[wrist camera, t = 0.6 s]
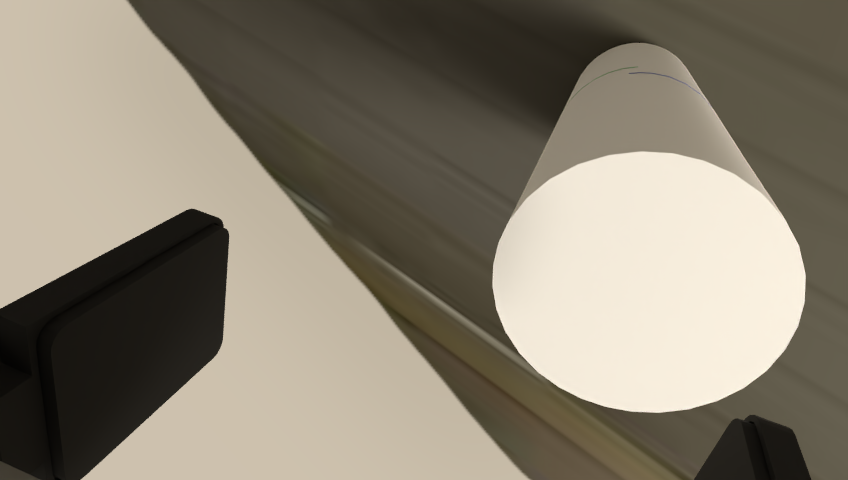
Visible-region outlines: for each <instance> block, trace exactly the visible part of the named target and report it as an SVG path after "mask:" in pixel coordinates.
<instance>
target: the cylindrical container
mask: <svg viewBox="0 0 848 480" xmlns="http://www.w3.org/2000/svg"><path fill="white" fill-rule="evenodd" d="M805 276H806V275H805V270H804V266H803V262H802V257H801V253H800V248H799V245H798V243H797V241H796V240H795V238H794V236H793V234H792V232H791V230H790V228H789V226H788V224H787V222H786V221H785V219H784V217H783V216H782V214H781V212H780V211H779V209H778V208H777V206H776V205H775V203H774V202H773V200H772V199H771V197H770V196H769V194H768V193H767V191H766V190H765V188H764V187H763V185H762V184H761V182H760V181H759V179H758V178H757V176H756V175H755V173H754V172H753V170H752V169H751V167H750V166H749V164H748V163H747V161H746V160H745V158H744V157H743V155H742V153H741V152H740V150H739V149H738V147H737V146H736V144H735V142H734V141H733V139H732V138H731V136H730V135H729V133H728V131H727V130H726V128H725V127H724V125H723V124H722V122H721V121H720V119H719V117H718V116H717V114H716V113H715V111H714V110H713V108H712V107H711V105H710V104H709V102H708V101H707V99H706V98H705V96H704V95H703V93H702V92H701V90H700V89H699V87H698V86H697V84H696V82H695V81H694V79H693V78H692V76H691V74H690V73H689V71H688V70H687V68H686V67H685V65H684V64H683V63H682V62H681V61H680V60H679V59H678V57H676V56H675V55H674V54H672V53H671V52H669V51H668V50H666V49H664V48H661V47H659V46H657V45H652V44H647V43H629V44H624V45H620V46H617V47H614V48H612V49H609V50H607V51H606V52H604V53H602V54H601V55H599V56H597V57H596V58H595V59H594V60H593V61H592V62H591V63H590V64H589V65H588V66H587V67H586V69H585V70H584V71H583V73H582V74H581V75H580V77H579V79H578V81H577V83H576V85H575V87H574V89H573V91H572V94H571V96H570V98H569V100H568V102H567V104H566V106H565V108H564V110H563V112H562V114H561V116H560V118H559V120H558V122H557V124H556V126H555V128H554V130H553V132H552V134H551V136H550V138H549V140H548V142H547V144H546V146H545V149H544V151H543V153H542V155H541V157H540V159H539V161H538V163H537V165H536V167H535V169H534V171H533V173H532V175H531V177H530V179H529V181H528V183H527V185H526V187H525V189H524V191H523V193H522V196H521V198H520V200H519V202H518V204H517V206H516V208H515V210H514V212H513V214H512V216H511V218H510V220H509V222H508V224H507V226H506V228H505V230H504V232H503V235H502V237H501V239H500V241H499V243H498V247H497V251H496V256H495V260H494V264H493V292H494V297H495V303H496V309H497V312H498V314H499V317H500V319H501V322H502V324H503V327H504V329H505V332H506V333H507V335H508V336H509V338H510V339H511V341H512V342H513V344H514V345H515V347H516V349H517V350H518V352H519V353H520V354H521V355H522V356H523V357H524V358H525V359H526V360H527V361H528V362H529V363H530V364H531V365H532V366H533V368H534V369H535V370H536V371H537V372H539V373H540V374H541V375H543V376H544V377H546V378H547V379H548V380H550V381H551V382H552V383H554V384H555V385H557V386H558V387H560V388H562V389H564V390H566V391H568V392H570V393H571V394H573V395H575V396H577V397H579V398H581V399H584V400H587V401H590V402H593V403H596V404H599V405H602V406H605V407H610V408H615V409H621V410H626V411H632V412H658V413H660V412H668V411H677V410H686V409H691V408H694V407H698V406H701V405H705V404H708V403H712V402H715V401H718V400H720V399H722V398H724V397H726V396H728V395H730V394H732V393H734V392H736V391H739V390H741V389H743V388H744V387H746V386H747V385H748V384H750V383H751V382H752V381H754V380H755V379H756V378H758V377H759V376H760V375H762V374H763V373H764V372H766V371H767V370H768V369H769V368H770V366H771V365H772V364H773V363H774V362H775V361H776V360H777V358H778V357H779V356H780V355H781V354H782V353H783V351H784V350H785V349H786V347H787V345H788V343H789V342H790V340H791V338H792V336H793V334H794V333H795V331H796V329H797V327H798V324H799V320H800V317H801V313H802V310H803V306H804V303H805Z"/></svg>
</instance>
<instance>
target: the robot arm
mask: <svg viewBox="0 0 848 480" xmlns="http://www.w3.org/2000/svg"><path fill="white" fill-rule="evenodd" d="M228 246H229V233H228V231H227V229H225V228H223V222H222V220H221V219H219V218H217V217H215V216H212V215H209V214H206V213H204V212H201V211H198V210H195V209H189V210H186V211H184V212H182V213H180V214H179V215H177V216H175V217H173V218H171V219H169V220H167V221H165V222H163V223H162V224H160V225H158V226H156V227H154V228H152V229H150V230H148V231H146V232H144V233H143V234H141V235H139V236H137V237H135V238H133V239H131V240H130V241H127V242H126V243H124V244H122V245H120V246H118V247H116V248H114V249H113V250H110V251H109V252H107V253H105V254H103V255H101V256H99V257H97V258H95V259H93V260H92V261H90V262H88V263H86V264H84V265H82V266H80V267H79V268H77V269H75V270H73V271H71V272H69V273H67V274H65V275H63V276H61V277H59V278H58V279H56V280H54V281H52V282H50V283H48V284H46V285H44V286H43V287H41V288H39V289H37V290H35V291H33V292H31V293H29V294H27V295H25V296H24V297H22V298H20V299H18V300H16V301H14V302H12V303H10V304H8V305H7V306H5V307H3V308H1V309H0V480H80V479H82V478H83V477H84V476H85V475H87V474H88V473H89V472H90V471H91V470H92V469H93V468H94V467H95V466H96V465H97V464H98V463H99V462H101V461H102V460H103V459H104V458H105V457H106V456H107V455H108V454H109V453H110V452H112V451H113V449H115V448H116V447H117V446H118V445H119V444H120V443H121V442H122V441H124V440H125V439H126V438H127V437H128V436H129V435H130V434H131V433H132V432H133V431H134V430H135V429H136V428H138V427H139V426H140V425H141V424H142V423H143V422H144V421H145V420H146V419H147V418H149V416H151V415H152V414H153V413H154V412H155V411H156V410H157V409H158V408H159V407H161V406H162V405H163V404H164V403H165V402H166V401H167V400H168V399H169V398H170V397H171V396H172V395H174V394H175V393H176V392H177V391H178V390H179V389H180V388H181V387H182V386H183V385H185V384H186V383H187V382H188V381H189V380H190V379H191V378H192V377H193V376H194V375H195V374H196V373H198V372H199V371H200V370H201V369H202V368H203V367H204V366H205V365H206V364H207V363H208V362H210V361H211V360H212V359H213V358H214V357H215V356H216V354H217V353H218V351H219V349H220V347H221V344H222V340H223V328H224V310H225V295H226V279H227V262H228ZM694 480H811V478H810V475H809V472H808V469H807V467H806V464H805V461H804V458H803V455H802V453H801V450H800V447H799V444H798V442H797V439H796V436H795V434H794V432H793V430H792V429H790V428H788V427H786V426H783V425H780V424H777V423H775V422H772V421H769V420H767V419H764V418H761V417H758V416H756V415H750V416H748V417H747V418H745V420H744V421H743V420H741V419H734V420H733V421H732V422H731V423H730V424H729V426H728V427H727V429H726V430H725V432H724V433H723V435H722V437H721V438H720V440H719V441H718V443H717V444H716V446H715V447H714V449H713V451H712V452H711V454H710V455H709V457H708V458H707V460H706V462H705V463H704V465H703V466H702V468H701V469H700V471H699V473H698V474H697V476H696V477H695V479H694Z"/></svg>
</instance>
